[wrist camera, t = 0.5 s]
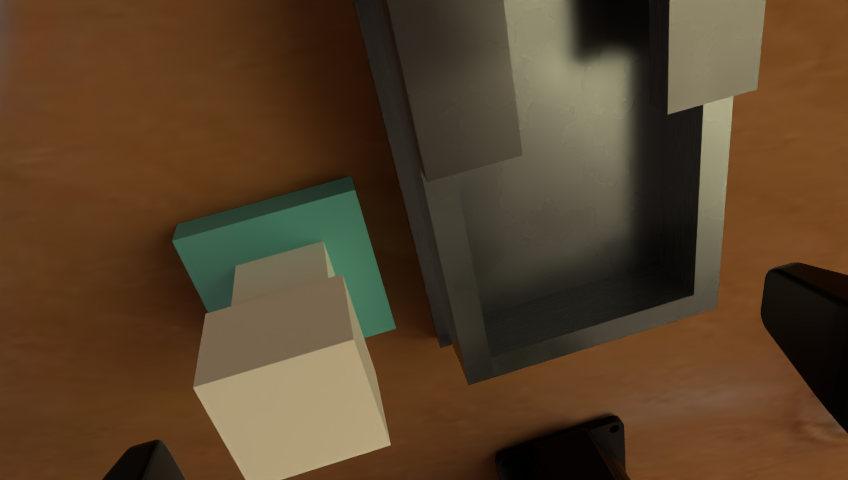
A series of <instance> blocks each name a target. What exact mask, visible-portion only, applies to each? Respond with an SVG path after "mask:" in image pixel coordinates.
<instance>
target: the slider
mask: <svg viewBox="0 0 848 480" xmlns="http://www.w3.org/2000/svg"><path fill="white" fill-rule="evenodd" d="M172 242H173V244H174V246H175V248H176V250H177V252H178V254H179V256H180V258H181V260H182V262H183V264H184V266H185V268H186V270H187V272H188V274H189V276H190V278H191V280H192V281H193V283H194V285H195V287H196V289H197V291H198V293H199V295H200V297H201V299H202V301H203V303H204V305H205V307H206V309H207V311H208V313H207V314H205V320H204V326H203V332H202V337H201V343H200V349H199V355H198V361H197V367H196V372H195V378H194V384H193V389H194V390H195V392H196V394H197V396H198V397H199V399H200V401H201V403H202V404H203V406H204V408H205V410H206V411H207V413H208V415H209V417H210V418H211V420H212V422H213V424H214V425H215V427H216V429H217V431H218V432H219V434H220V436H221V438H222V439H223V441H224V443H225V445H226V446H227V448H228V450H229V452H230V453H231V455H232V457H233V459H234V460H235V462H236V464H237V466H238V467H239V469H240V471H241V473H242V474H243V476H244V478H245V480H282V479H285V478H288V477H291V476H295V475H298V474H301V473H304V472H307V471H310V470H314V469H317V468H320V467H323V466H326V465H329V464H333V463H336V462H339V461H342V460H345V459H348V458H352V457H355V456H358V455H361V454H364V453H367V452H371V451H374V450H377V449H380V448H383V447H386V446H390V445H391V444H390V439H389V434H388V429H387V425H386V420H385V415H384V410H383V405H382V401H381V396H380V391H379V386H378V381H377V377H376V372H375V369H374V366H373V363H372V360H371V357H370V354H369V351H368V349H367V346H366V343H365V340H364V338H367V337H370V336H373V335H377V334H380V333H383V332H387V331H390V330H393V329H396V327H395V323H394V319H393V316H392V312H391V309H390V305H389V302H388V299H387V295H386V292H385V288H384V285H383V282H382V278H381V275H380V271H379V268H378V265H377V261H376V258H375V254H374V251H373V248H372V244H371V241H370V238H369V234H368V231H367V227H366V224H365V221H364V217H363V214H362V210H361V207H360V204H359V200H358V197H357V193H356V190H355V187H354V183H353V180H352V177H351V176H349V177H346V178H342V179H339V180H335V181H331V182H328V183H324V184H321V185H317V186H313V187H310V188H306V189H303V190H299V191H295V192H292V193H288V194H285V195H281V196H277V197H274V198H270V199H267V200H263V201H259V202H256V203H252V204H249V205H245V206H241V207H238V208H234V209H231V210H227V211H223V212H220V213H216V214H213V215H209V216H205V217H202V218H198V219H195V220H191V221H187V222H184V223H180V224H177V227H176V230H175V233H174V236H173V240H172Z"/></svg>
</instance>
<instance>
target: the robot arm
mask: <svg viewBox="0 0 848 480" xmlns="http://www.w3.org/2000/svg"><path fill="white" fill-rule="evenodd" d="M761 318H762V321H763V324H764V326H765V328H766V329H767V331H768V332H769V333H770V335H771V336H772V338H773V339H774V340H775V342H776V343H777V344H778V346H779V347H780V348H781V350H782V351H783V352H784V354H785V355H786V356H787V358H788V359H789V360H790V362H791V363H792V364H793V366H794V367H795V368H796V370H797V371H798V372H799V374H800V375H801V376H802V378H803V379H804V380H805V382H806V383H807V384H808V386H809V387H810V389H811V390H812V391H813V393H814V394H815V395H816V397H817V398H818V399H819V400H820V402H821V403H822V404H823V405H824V407H825V408H826V409H827V410H828V412H829V413H830V414H831V415H832V416H833V417H834V419H835V420H836V421H837V422H838V423H839V424H840V426H841V427H842V428H843V429H844V430H845V431H846V432H847V433H848V275H845V274H841V273H838V272H834V271H830V270H826V269H822V268H818V267H814V266H811V265H807V264H803V263H796V262H795V263H789V264H786V265H782V266H779V267H775V268H772V269H771V270H769V271H768V273H767V274H766V277H765V283H764V290H763V298H762V305H761ZM495 464H496V469H497V474H498V478H499V480H630V478H629V477H628V475H627V473H626V471H625V441H624V424H623V423H622V421H621V419H620V418H619V417H618V416H615V415H613V416H609V417H606V418H602V419H599V420H596V421H593V422H590V423H587V424H584V425H581V426H578V427H574V428H571V429H568V430H565V431H562V432H559V433H556V434H553V435H550V436H546V437H543V438H540V439H537V440H534V441H531V442H528V443H525V444H522V445H518V446H515V447H512V448H509V449H506V450H503V451H501V452H499V453H498V454H497V455H496V456H495ZM102 480H186V478H185V476H184V474H183V473H182V471H181V469H180V467H179V466H178V464H177V462H176V460H175V459H174V457H173V455H172V453H171V452H170V450H169V448H168V446H167V445H166V444H165V443H164V442H163V441H161V440H153V441H149V442H146V443H142V444H138V445H135V446H133V447H130V448H129V449H128V450H127V451H126V452H125V453H124V454H123V455H122V456H121V458H120V459H119V460H118V461H117V462H116V464H115V465H114V466H113V467H112V468H111V470H110V471H109V472H108V473H107V474H106V476H105V477H104V478H103V479H102Z"/></svg>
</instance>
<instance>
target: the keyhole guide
mask: <svg viewBox="0 0 848 480" xmlns="http://www.w3.org/2000/svg"><path fill="white" fill-rule="evenodd" d="M353 3H354V7H355V11H356V15H357V19H358V23H359V27H360V31H361V35H362V39H363V43H364V47H365V51H366V55H367V59H368V63H369V67H370V71H371V75H372V79H373V83H374V87H375V91H376V95H377V99H378V103H379V107H380V111H381V115H382V119H383V123H384V127H385V131H386V135H387V139H388V143H389V147H390V151H391V155H392V159H393V163H394V167H395V171H396V175H397V179H398V183H399V187H400V191H401V195H402V199H403V203H404V207H405V211H406V215H407V219H408V223H409V227H410V231H411V235H412V239H413V243H414V247H415V251H416V255H417V259H418V263H419V267H420V271H421V275H422V279H423V283H424V287H425V291H426V295H427V299H428V303H429V307H430V311H431V315H432V319H433V323H434V327H435V331H436V335H437V339H438V342H439V344H440V347H445V346H448V345H451V344H453V347H454V349H455V352H456V354H457V357H458V359H459V362H460V364H461V367H462V369H463V372H464V375H465V377H466V380H467V382H468V385H471V384H474V383H477V382H480V381H484V380H487V379H490V378H493V377H496V376H500V375H503V374H506V373H509V372H513V371H516V370H519V369H522V368H525V367H529V366H532V365H535V364H538V363H542V362H545V361H548V360H551V359H554V358H558V357H561V356H564V355H567V354H570V353H574V352H577V351H580V350H583V349H587V348H590V347H593V346H596V345H599V344H603V343H606V342H609V341H612V340H616V339H619V338H622V337H625V336H628V335H632V334H635V333H638V332H641V331H644V330H648V329H651V328H654V327H657V326H661V325H664V324H667V323H670V322H673V321H677V320H680V319H683V318H686V317H690V316H693V315H696V314H699V313H702V312H706V311H709V310H712V309H715V308H717V301H718V288H719V276H720V263H721V250H722V237H723V224H724V211H725V198H726V185H727V172H728V159H729V146H730V133H731V120H732V107H733V96H735V95H739V94H742V93H746V92H750V91H753V90H757V84H758V74H759V64H760V54H761V44H762V33H763V23H764V13H765V3H766V0H353Z"/></svg>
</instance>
